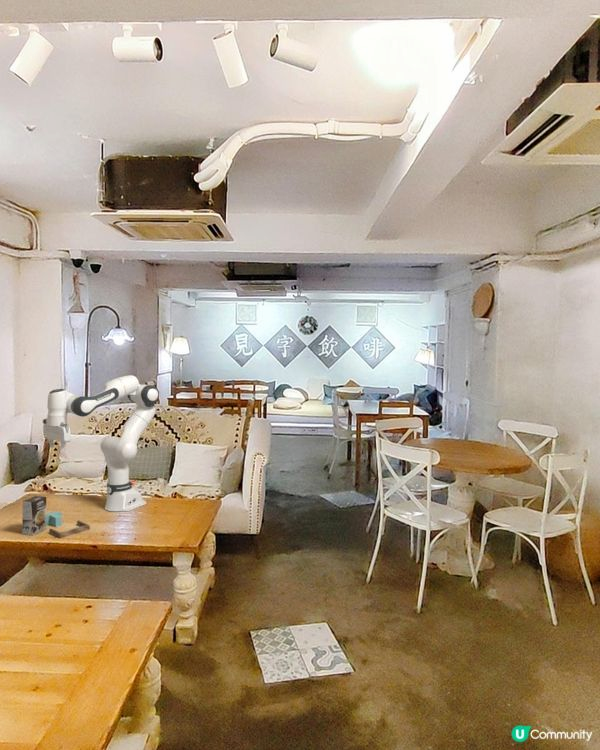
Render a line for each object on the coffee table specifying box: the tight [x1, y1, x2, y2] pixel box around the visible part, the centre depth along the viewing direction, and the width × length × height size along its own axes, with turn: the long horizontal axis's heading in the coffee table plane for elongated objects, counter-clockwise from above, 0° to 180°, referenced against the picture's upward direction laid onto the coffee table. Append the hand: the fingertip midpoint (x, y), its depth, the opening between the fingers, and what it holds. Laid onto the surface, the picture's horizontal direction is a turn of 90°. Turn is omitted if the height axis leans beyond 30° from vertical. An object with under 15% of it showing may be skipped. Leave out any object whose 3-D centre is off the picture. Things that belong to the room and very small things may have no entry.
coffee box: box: [21, 495, 47, 536], centre depth 241 cm, size 9×6×16 cm
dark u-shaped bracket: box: [48, 520, 91, 539], centre depth 243 cm, size 15×10×2 cm, turn 143°
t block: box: [46, 510, 63, 528], centre depth 252 cm, size 9×9×4 cm
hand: (56, 448), depth 253 cm, fingers open, 8 cm apart
